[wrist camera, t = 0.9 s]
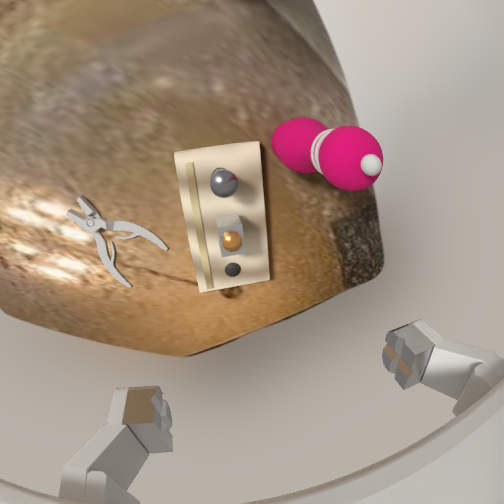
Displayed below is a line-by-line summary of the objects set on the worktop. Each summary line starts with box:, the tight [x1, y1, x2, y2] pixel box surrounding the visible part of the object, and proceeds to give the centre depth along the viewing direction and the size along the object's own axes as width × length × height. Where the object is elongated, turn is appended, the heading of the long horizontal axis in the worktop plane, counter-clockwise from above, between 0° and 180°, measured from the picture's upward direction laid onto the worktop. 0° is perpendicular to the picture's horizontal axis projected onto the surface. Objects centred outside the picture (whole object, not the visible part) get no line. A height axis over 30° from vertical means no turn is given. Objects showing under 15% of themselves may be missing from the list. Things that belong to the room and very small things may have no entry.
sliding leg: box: [215, 213, 245, 257], centre depth 37 cm, size 4×3×5 cm
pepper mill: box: [272, 117, 383, 191], centre depth 29 cm, size 7×7×20 cm
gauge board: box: [174, 141, 270, 293], centre depth 40 cm, size 21×11×2 cm, turn 5°
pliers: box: [67, 195, 168, 288], centre depth 37 cm, size 10×2×15 cm
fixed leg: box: [210, 169, 238, 198], centre depth 34 cm, size 3×3×5 cm
